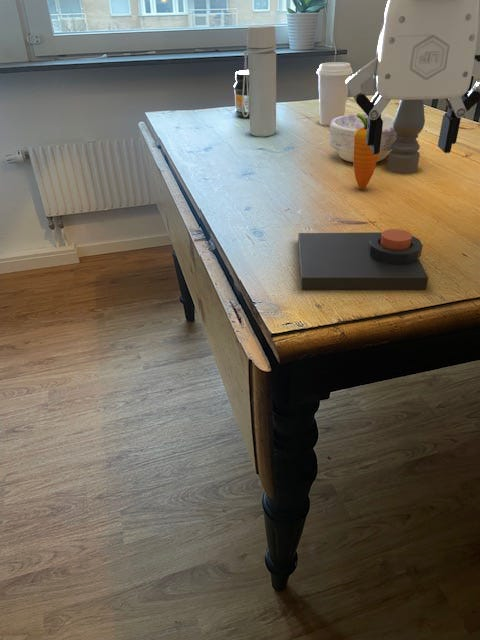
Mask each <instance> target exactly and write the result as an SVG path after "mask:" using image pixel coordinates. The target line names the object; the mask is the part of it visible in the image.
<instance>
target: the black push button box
mask: <svg viewBox="0 0 480 640" xmlns="http://www.w3.org/2000/svg"><path fill="white" fill-rule="evenodd" d="M382 232H383V231H382ZM382 232H380V231H379V232H375V231H374V232H298V233H297V246H298V247H297V248H298V250H297V251H298V262H299V275H300V276H299V277H300V288H301V291H426V290H427V287H428V281H429V276H428V274H427V272H426V269H425V268H424V266H423V265H422V262H421V260H420V257H421V256H422V251H423V245H424V244H423V243H422V241H421V239H419V238H418V237H415V236H414V235H412V240H411V246H410V248H408V249H405V250H393V249H388V248H384V247H383V246H381V245H380V242H381V234H382Z"/></svg>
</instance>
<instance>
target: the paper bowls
mask: <svg viewBox="0 0 480 640" xmlns="http://www.w3.org/2000/svg"><path fill="white" fill-rule="evenodd" d="M357 114H358V113H353V114H346V115H345V114H344V116H340V117H337V118H335V119H333V120H332V121H331V124H330V126H329V127H330V128H329V141H328V142H329V146H330V147H331V148H332V149H334V150H336V151H337V154H338V156H339V157H340V158H341V159H342V160H344V161H346V162H350V163H353V143H354V133H355V131H356V130H357V129H358V128H362V127H364V124H363V122H362V120H361V119H360V118H358V117H357V116H356V115H357ZM360 114H361V115H363V116H365V117H367V120H368V116H367V114H366V113H360ZM381 119H382V120H383V127H382V136H381V144H380V152H379V153H378V159H377V162H381V161H382V160H384V159H386V157H387V156H388V155H389V152H390V151H392V149H391V145H392V143H394V141H395V140H396V139H397V137H396V132H395V131H394V128H393V120H394V117H392V116H390V115H384V114H381ZM377 162H376V163H377Z"/></svg>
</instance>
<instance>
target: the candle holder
mask: <svg viewBox="0 0 480 640" xmlns="http://www.w3.org/2000/svg"><path fill="white" fill-rule="evenodd" d="M424 103H425V102H424V99H414V100H399V103H398V105H397V106H398V107H397V109H396V112H395V114H394V117H393V118H394V120H393V128H394V131H395V132H396V137H397V139H396V140H395V141H394V143H392V145H391V149H392V150H390V151H389V153H388V158H387V166H386V170H387V171H388V172H390V173H391V174H392V173H393V174H398V175H408V174H409V175H411V174H415V173H417V172H418V167H419V162H420V157H421V156H420V155H421V154H420V152H419V150H420V148H421V146H420V144H419V141H418V140H417V139H418V138H419V134H420V133H421V132H422V131H423V129H424V127H425V123H426V117H425V104H424Z"/></svg>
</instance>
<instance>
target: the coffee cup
mask: <svg viewBox="0 0 480 640" xmlns="http://www.w3.org/2000/svg"><path fill="white" fill-rule="evenodd" d="M316 74H317V75H318V105H319V107H318V108H319V109H318V110H319V111H318V112H319V124H320V125H322V126H327V127H328V126H329V127H330V124H331V121H332V120H333V119H335V118H337V117H340V116H345V113H346V106H347V100H348V94H349V89H348V87H347V86H346V80H347V79H348V78H349V77H351V76H352V75H353V74H354V73H353V68H352V67H351V63H350V62H345V61H344V62H343V61H331V62H322V63H320V64H319V68H317V70H316ZM351 74H352V75H351Z"/></svg>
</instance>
